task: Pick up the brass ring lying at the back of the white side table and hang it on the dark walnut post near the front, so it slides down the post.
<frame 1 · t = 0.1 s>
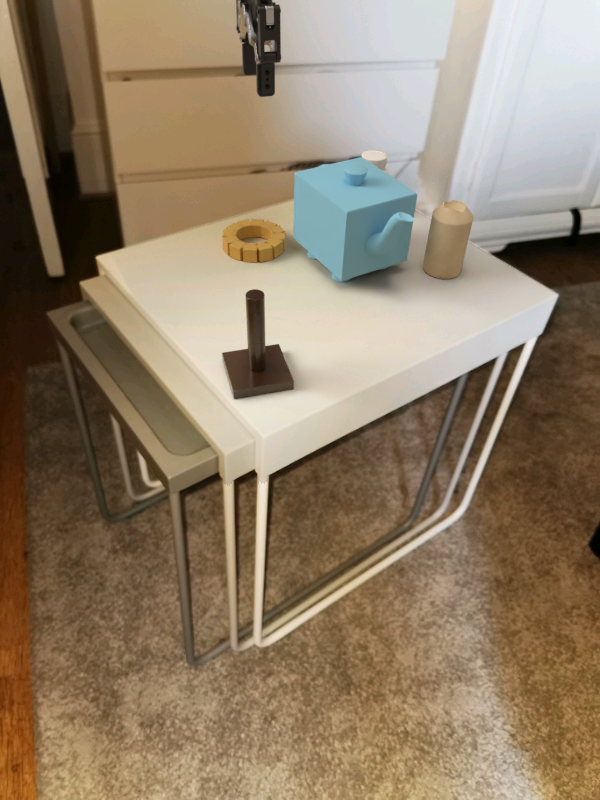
hand: (258, 84, 84), 22 cm above the table, tool pointing down, fingers open, 8 cm apart
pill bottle: (368, 209, 106), on the table
teapot: (354, 266, 93), on the table
candle: (441, 270, 93), on the table
ring: (254, 246, 96), on the table
post: (257, 374, 75), on the table
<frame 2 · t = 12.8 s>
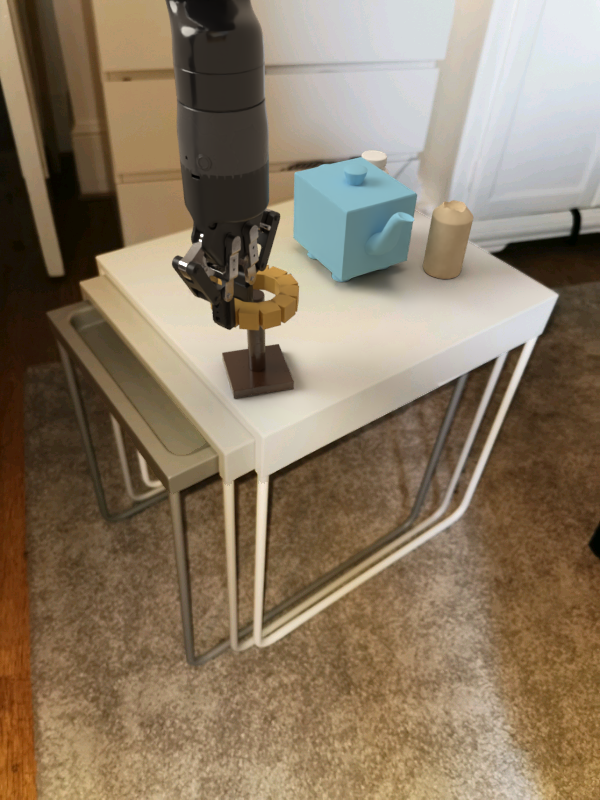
hand: (233, 318, 66), 10 cm above the table, tool pointing down, fingers closed on ring
ring: (254, 303, 68), point 10 cm above the table, touching gripper
everything else where it was.
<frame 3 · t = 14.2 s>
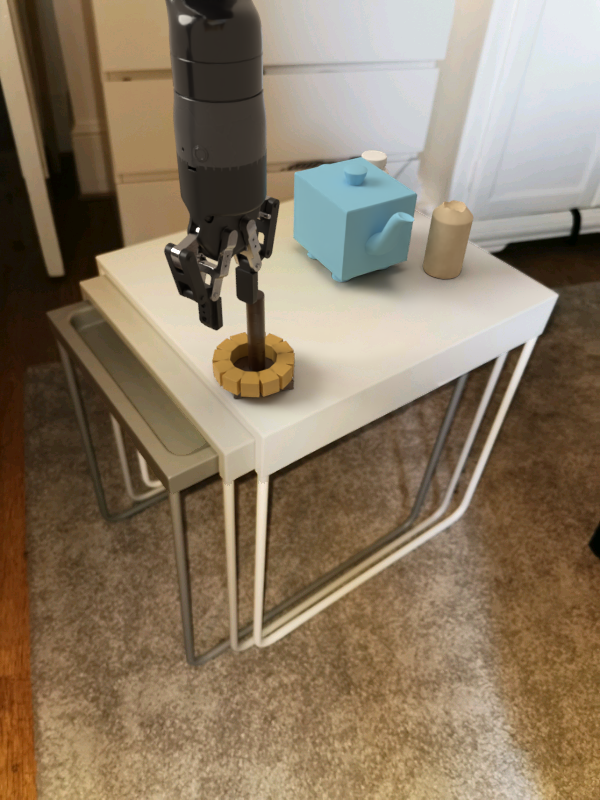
hand: (229, 312, 65), 11 cm above the table, tool pointing down, fingers open, 5 cm apart
ring: (254, 369, 74), point 1 cm above the table, touching post
everything else where it was.
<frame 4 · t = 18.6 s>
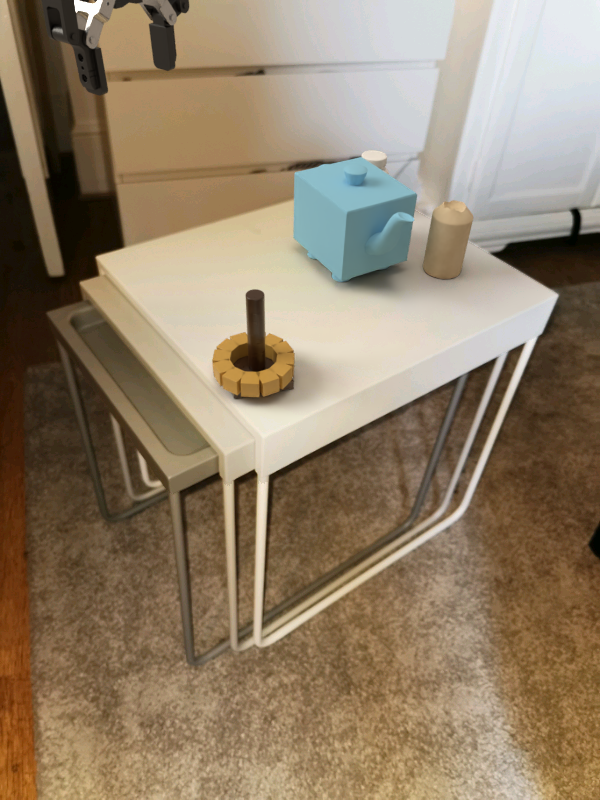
hand: (132, 80, 58), 30 cm above the table, tool pointing down, fingers open, 8 cm apart
nothing on the table moved.
at the end: ring 0.7 cm from the post (horizontally); ring point 1.2 cm above the table; the gripper is holding nothing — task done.
